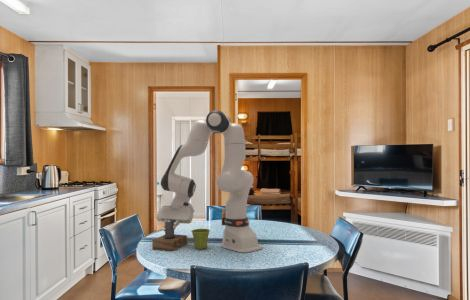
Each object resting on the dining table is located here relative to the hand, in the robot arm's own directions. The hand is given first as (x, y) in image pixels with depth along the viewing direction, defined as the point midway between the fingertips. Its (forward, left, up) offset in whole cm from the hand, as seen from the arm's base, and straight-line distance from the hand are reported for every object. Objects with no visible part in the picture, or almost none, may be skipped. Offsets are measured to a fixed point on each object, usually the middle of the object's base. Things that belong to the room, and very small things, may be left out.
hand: (169, 228), depth 167 cm
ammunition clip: (+28, -56, -10) cm, 63 cm away
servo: (0, 0, -5) cm, 5 cm away
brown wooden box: (0, -1, -9) cm, 9 cm away
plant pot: (-11, -13, -10) cm, 19 cm away
